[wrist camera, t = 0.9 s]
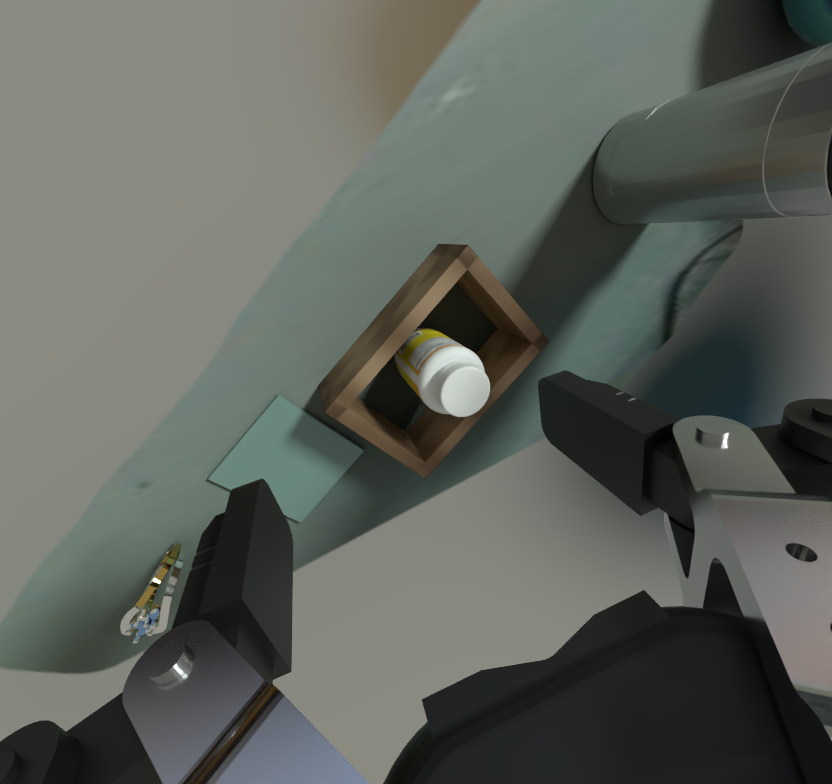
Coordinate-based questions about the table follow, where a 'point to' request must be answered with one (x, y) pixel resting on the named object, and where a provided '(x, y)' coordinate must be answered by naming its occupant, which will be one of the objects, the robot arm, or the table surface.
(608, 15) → the table surface
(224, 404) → the table surface
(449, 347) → the supplement bottle
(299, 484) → the mat
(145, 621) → the ring
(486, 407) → the box
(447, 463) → the table surface
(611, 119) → the table surface
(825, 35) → the vase
